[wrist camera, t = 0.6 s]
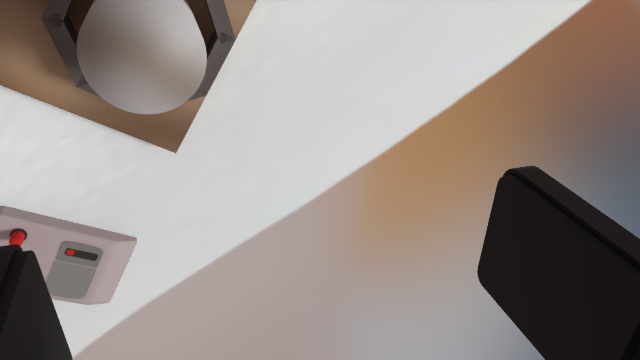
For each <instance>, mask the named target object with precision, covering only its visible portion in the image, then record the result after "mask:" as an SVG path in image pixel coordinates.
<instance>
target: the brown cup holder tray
mask: <svg viewBox="0 0 640 360" xmlns="http://www.w3.org/2000/svg"><path fill="white" fill-rule="evenodd" d="M255 2H256V0H0V85H2V86H5V87H7V88H10V89H13V90H15V91H18V92H20V93H23V94H25V95H28V96H30V97H33V98H36V99H38V100H41V101H43V102H46V103H48V104H51V105H54V106H56V107H59V108H61V109H64V110H66V111H69V112H72V113H74V114H77V115H79V116H82V117H84V118H87V119H89V120H92V121H95V122H97V123H100V124H102V125H105V126H107V127H110V128H113V129H115V130H118V131H120V132H123V133H125V134H128V135H131V136H133V137H136V138H138V139H141V140H143V141H146V142H148V143H151V144H154V145H156V146H159V147H161V148H164V149H166V150H169V151H172V152H174V153H176V152H177V150H178V148H179V146H180V145H181V143H182V141H183V139H184V137H185V135H186V133H187V131H188V129H189V127H190V126H191V124H192V122H193V120H194V118H195V116H196V114H197V112H198V110H199V108H200V107H201V105H202V103H203V101H204V99H205V97H206V95H207V93H208V91H209V89H210V88H211V86H212V84H213V82H214V80H215V78H216V76H217V74H218V72H219V70H220V69H221V67H222V65H223V63H224V61H225V59H226V57H227V55H228V53H229V51H230V50H231V48H232V46H233V44H234V42H235V40H236V38H237V36H238V34H239V32H240V30H241V29H242V27H243V25H244V23H245V21H246V19H247V17H248V15H249V13H250V11H251V10H252V8H253V6H254V4H255Z"/></svg>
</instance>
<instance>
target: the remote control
mask: <svg viewBox="0 0 640 360" xmlns="http://www.w3.org/2000/svg"><path fill="white" fill-rule="evenodd" d="M136 243H137V238H136V237H131V236H127V235H123V234H119V233H115V232H111V231H107V230H102V229H98V228H94V227H90V226H86V225H82V224H77V223H73V222H69V221H65V220H61V219H57V218H52V217H48V216H44V215H40V214H36V213H32V212H27V211H23V210H19V209H15V208H11V207H7V206H0V246H6V245H12V244H18V245H19V246H20V247H21V248H22V250H23V251H29V250H32V251H33V252H34V253H35V255H36V257H37V260H38V263H39V266H40V268H41V271H42V274H43V277H44V280H45V282H46V285H47V288H48V291H49V294H50V296H51V299H55V300H61V301H67V302H73V303H79V304H86V305H93V304H102V303H108V302H110V300H111V298H112V297H113V294H114V292H115V290H116V288H117V286H118V284H119V281H120V279H121V277H122V275H123V273H124V270H125V268H126V266H127V264H128V262H129V259H130V257H131V255H132V253H133V250H134V248H135V246H136Z"/></svg>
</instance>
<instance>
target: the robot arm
mask: <svg viewBox="0 0 640 360" xmlns="http://www.w3.org/2000/svg"><path fill="white" fill-rule="evenodd" d="M477 272H478V278H479V281H480V283H481V285H482V286H483V287H484V288H485V290H487V292H488V293H489V294H490V295H491V296H492V298H493V299H494V300H495V301H496V302H497V303H498V305H499V306H500V307H501V308H502V309H503V311H504V312H505V313H506V314H507V315H508V316H509V318H510V319H511V320H512V321H513V322H514V323H515V325H516V326H517V327H518V328H519V329H520V331H521V332H522V333H523V334H524V335H525V336H526V338H527V339H528V340H529V341H530V342H531V343H532V345H533V346H534V347H535V348H536V349H537V350H538V352H539V353H540V354H541V355H542V356H543V357H544V359H545V360H640V239H639V238H638V237H636V236H635V235H633V234H632V233H630V232H629V231H627V230H626V229H625V228H623V227H622V226H620V225H619V224H618V223H616V222H615V221H613V220H612V219H611V218H609V217H608V216H606V215H605V214H603V213H602V212H600V211H599V210H597V209H596V208H595V207H593V206H592V205H590V204H589V203H588V202H586V201H585V200H583V199H582V198H581V197H579V196H578V195H576V194H575V193H573V192H572V191H571V190H569V189H568V188H566V187H565V186H563V185H562V184H560V183H559V182H558V181H556V180H555V179H553V178H552V177H551V176H549V175H548V174H546V173H545V172H543V171H542V170H541V169H539V168H537V167H535V166H526V167H520V168H513V169H509V170H507V171H506V172H505V173H504V175H503V177H501V178H500V179H499V181H498V184H497V188H496V192H495V197H494V201H493V206H492V209H491V214H490V218H489V223H488V227H487V231H486V235H485V240H484V244H483V248H482V252H481V257H480V261H479V265H478V271H477ZM0 360H72V355H71V352H70V349H69V347H68V344H67V341H66V338H65V335H64V333H63V330H62V327H61V324H60V322H59V319H58V316H57V313H56V310H55V308H54V305H53V302H52V299H51V296H50V294H49V291H48V288H47V285H46V282H45V280H44V277H43V274H42V271H41V268H40V266H39V263H38V260H37V257H36V255H35V253H34V252H33V251H32V250H29V251H23V250H22V248H21V247H20V246H19V245H18V244H12V245H6V246H0Z"/></svg>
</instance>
